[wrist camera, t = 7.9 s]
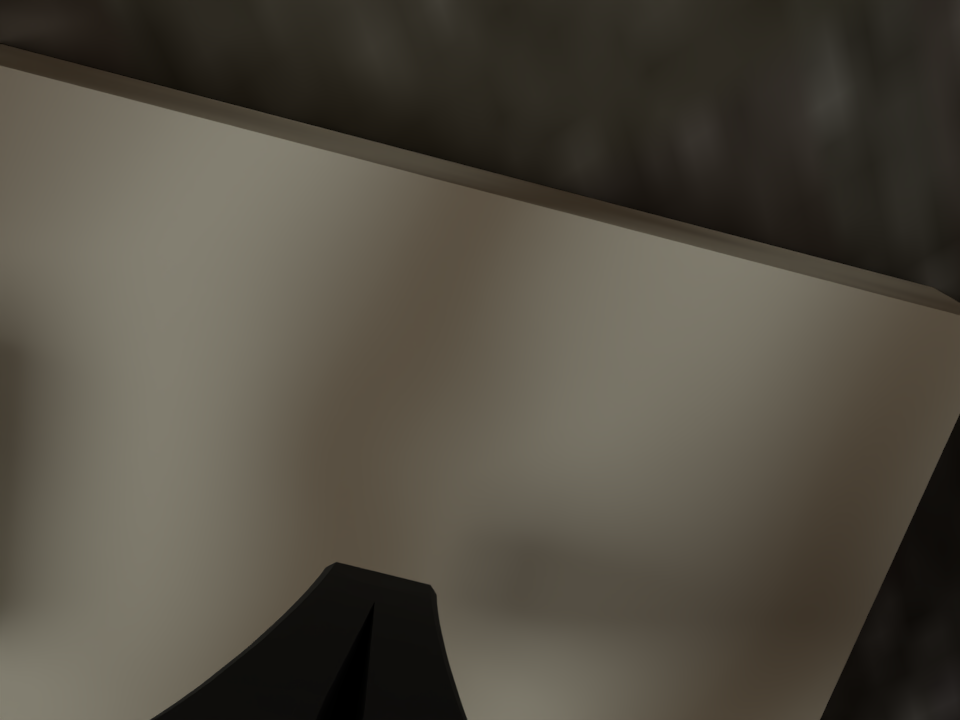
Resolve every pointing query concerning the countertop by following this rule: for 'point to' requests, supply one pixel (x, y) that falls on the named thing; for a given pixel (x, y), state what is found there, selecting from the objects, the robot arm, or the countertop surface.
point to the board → (428, 418)
